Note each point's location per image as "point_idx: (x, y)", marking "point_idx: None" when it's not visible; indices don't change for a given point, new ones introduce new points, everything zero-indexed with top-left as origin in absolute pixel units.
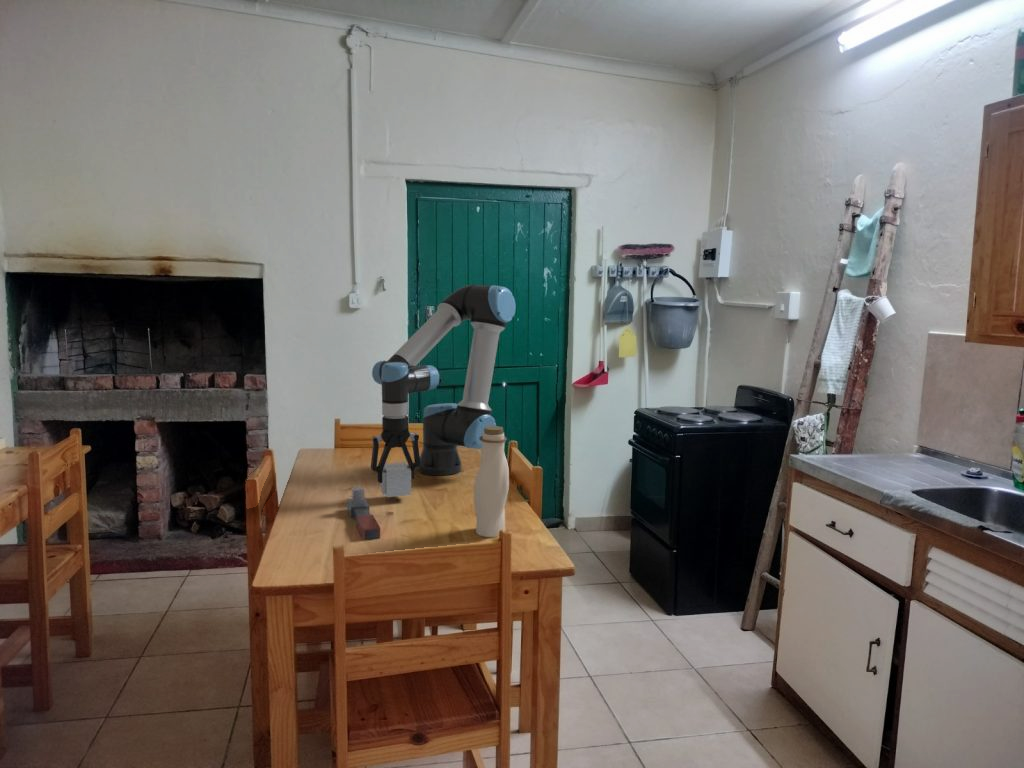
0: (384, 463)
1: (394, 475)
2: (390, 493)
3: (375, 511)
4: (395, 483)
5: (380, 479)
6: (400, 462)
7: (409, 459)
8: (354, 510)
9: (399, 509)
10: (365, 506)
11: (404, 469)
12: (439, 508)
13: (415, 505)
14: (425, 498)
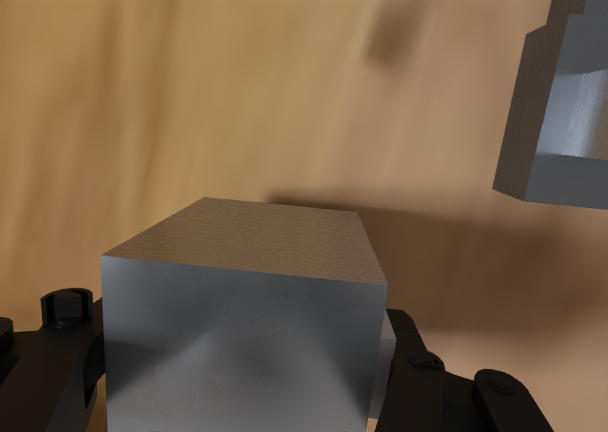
0: (391, 414)
1: (297, 253)
2: (334, 214)
3: (458, 107)
4: (294, 229)
5: (396, 322)
6: None
7: (30, 393)
8: None
9: (315, 89)
10: (596, 16)
11: (173, 259)
12: (88, 16)
13: (207, 124)
14: (125, 219)
